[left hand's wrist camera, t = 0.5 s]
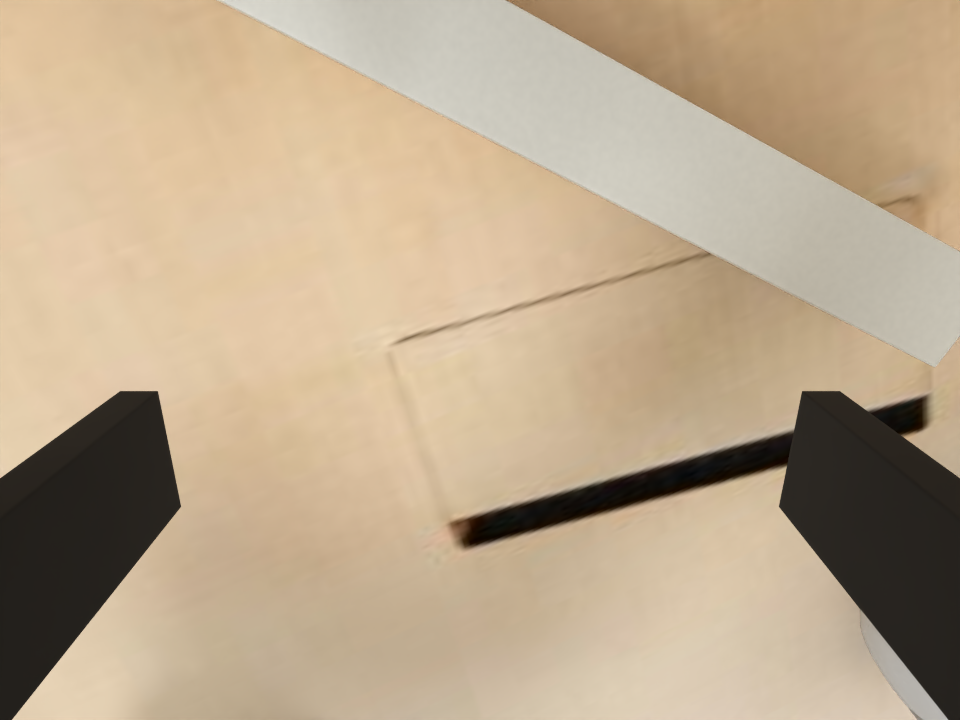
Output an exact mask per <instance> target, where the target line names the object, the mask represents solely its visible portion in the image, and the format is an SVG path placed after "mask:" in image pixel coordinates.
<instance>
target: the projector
mask: <svg viewBox="0 0 960 720" xmlns="http://www.w3.org/2000/svg"><path fill="white" fill-rule="evenodd" d="M860 626H861V631H862V634H863V637H864V640H865V642H866V645H867V647H868V649H869V651H870V653H871V655H872V657H873V659H874V661H875V662H876V664H877V666H878V667H879V669H880V671H881V672H882V674H883V675H884V677H885V678H886V680H887V681H888V683H889V684H890V685H891V687H892V688H893V689H894V691H895V692H896V693H897V695H898V696H899V697H900V699H901V700H902V701H903V702H904V703H905V704H906V705H907V706H908V708H909V709H910V711H911V712H912V714H913V715H914V716H915V717H916V718H917V720H948V719H947V718H946V716H945V715H944V714H943V713H942V711H941V710H940V709H939V708H938V706H937V705H936V704H935V703H934V701H933V700H932V699H931V697H930V696H929V695H928V694H927V692H926V691H925V690H924V689H923V687H922V686H921V685H920V684H919V682H918V681H917V680H916V679H915V677H914V676H913V675H912V674H911V672H910V671H909V670H908V669H907V667H906V666H905V665H904V663H903V662H902V661H901V660H900V658H899V657H898V656H897V655H896V653H895V652H894V651H893V650H892V648H891V647H890V646H889V645H888V643H887V642H886V641H885V640H884V638H883V637H882V636H881V634H880V633H879V632H878V631H877V629H876V628H875V627H874V626H873V624H872V623H871V622H870V621H869V619H868V618H867V617H866V616H865V614H864V613H863V612H862V611H861V609H860Z"/></svg>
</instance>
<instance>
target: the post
mask: <svg viewBox="0 0 960 720" xmlns="http://www.w3.org/2000/svg"><path fill="white" fill-rule="evenodd" d="M217 1H218V2H220V3H222V4H224V5H226V6H228V7H230V8H232V9H234V10H236V11H238V12H240V13H242V14H244V15H246V16H248V17H250V18H252V19H254V20H256V21H257V22H259V23H261V24H263V25H265V26H267V27H269V28H271V29H273V30H275V31H277V32H279V33H281V34H283V35H285V36H287V37H289V38H291V39H293V40H295V41H296V42H298V43H300V44H302V45H304V46H306V47H308V48H310V49H312V50H314V51H316V52H318V53H320V54H322V55H324V56H326V57H328V58H330V59H332V60H334V61H336V62H337V63H339V64H341V65H343V66H345V67H347V68H349V69H351V70H353V71H355V72H357V73H359V74H361V75H363V76H365V77H367V78H369V79H371V80H373V81H375V82H376V83H378V84H380V85H382V86H384V87H386V88H388V89H390V90H392V91H394V92H396V93H398V94H400V95H402V96H404V97H406V98H408V99H410V100H412V101H414V102H415V103H417V104H419V105H421V106H423V107H425V108H427V109H429V110H431V111H433V112H435V113H437V114H439V115H441V116H443V117H445V118H447V119H449V120H451V121H453V122H455V123H456V124H458V125H460V126H462V127H464V128H466V129H468V130H470V131H472V132H474V133H476V134H478V135H480V136H482V137H484V138H486V139H488V140H490V141H492V142H494V143H495V144H497V145H499V146H501V147H503V148H505V149H507V150H509V151H511V152H513V153H515V154H517V155H519V156H521V157H523V158H525V159H527V160H529V161H531V162H533V163H534V164H536V165H538V166H540V167H542V168H544V169H546V170H548V171H550V172H552V173H554V174H556V175H558V176H560V177H562V178H564V179H566V180H568V181H570V182H572V183H573V184H575V185H577V186H579V187H581V188H583V189H585V190H587V191H589V192H591V193H593V194H595V195H597V196H599V197H601V198H603V199H605V200H607V201H609V202H611V203H613V204H614V205H616V206H618V207H620V208H622V209H624V210H626V211H628V212H630V213H632V214H634V215H636V216H638V217H640V218H642V219H644V220H646V221H648V222H650V223H652V224H653V225H655V226H657V227H659V228H661V229H663V230H665V231H667V232H669V233H671V234H673V235H675V236H677V237H679V238H681V239H683V240H685V241H687V242H689V243H691V244H692V245H694V246H696V247H698V248H700V249H702V250H704V251H706V252H708V253H710V254H712V255H714V256H716V257H718V258H720V259H722V260H724V261H726V262H728V263H730V264H732V265H733V266H735V267H737V268H739V269H741V270H743V271H745V272H747V273H749V274H751V275H753V276H755V277H757V278H759V279H761V280H763V281H765V282H767V283H769V284H771V285H772V286H774V287H776V288H778V289H780V290H782V291H784V292H786V293H788V294H790V295H792V296H794V297H796V298H798V299H800V300H802V301H804V302H806V303H808V304H810V305H811V306H813V307H815V308H817V309H819V310H821V311H823V312H825V313H827V314H829V315H831V316H833V317H835V318H837V319H839V320H841V321H843V322H845V323H847V324H849V325H851V326H853V327H855V328H857V329H859V330H861V331H863V332H865V333H867V334H869V335H871V336H873V337H875V338H877V339H879V340H881V341H883V342H885V343H887V344H889V345H891V346H893V347H895V348H897V349H899V350H901V351H903V352H905V353H907V354H909V355H911V356H913V357H915V358H917V359H919V360H921V361H923V362H925V363H927V364H929V365H931V366H933V367H936V366H937V365H938V363H939V362H940V361H941V359H942V358H943V357H944V356H945V354H946V353H947V352H948V351H949V349H950V348H951V347H952V345H953V344H954V343H955V342H956V340H957V339H958V338H959V336H960V251H958V250H956V249H955V248H953V247H951V246H949V245H947V244H946V243H944V242H942V241H940V240H938V239H937V238H935V237H933V236H931V235H929V234H928V233H926V232H924V231H922V230H920V229H918V228H917V227H915V226H913V225H911V224H909V223H908V222H906V221H904V220H902V219H900V218H899V217H897V216H895V215H893V214H891V213H890V212H888V211H886V210H884V209H882V208H881V207H879V206H877V205H875V204H873V203H872V202H870V201H868V200H866V199H864V198H863V197H861V196H859V195H857V194H855V193H853V192H852V191H850V190H848V189H846V188H844V187H843V186H841V185H839V184H837V183H835V182H834V181H832V180H830V179H828V178H826V177H825V176H823V175H821V174H819V173H817V172H816V171H814V170H812V169H810V168H808V167H807V166H805V165H803V164H801V163H799V162H798V161H796V160H794V159H792V158H790V157H789V156H787V155H785V154H783V153H781V152H779V151H778V150H776V149H774V148H772V147H770V146H769V145H767V144H765V143H763V142H761V141H760V140H758V139H756V138H754V137H752V136H751V135H749V134H747V133H745V132H743V131H742V130H740V129H738V128H736V127H734V126H733V125H731V124H729V123H727V122H725V121H724V120H722V119H720V118H718V117H716V116H714V115H713V114H711V113H709V112H707V111H705V110H704V109H702V108H700V107H698V106H696V105H695V104H693V103H691V102H689V101H687V100H686V99H684V98H682V97H680V96H678V95H677V94H675V93H673V92H671V91H669V90H668V89H666V88H664V87H662V86H660V85H659V84H657V83H655V82H653V81H651V80H649V79H648V78H646V77H644V76H642V75H640V74H639V73H637V72H635V71H633V70H631V69H630V68H628V67H626V66H624V65H622V64H621V63H619V62H617V61H615V60H613V59H612V58H610V57H608V56H606V55H604V54H603V53H601V52H599V51H597V50H595V49H594V48H592V47H590V46H588V45H586V44H585V43H583V42H581V41H579V40H577V39H575V38H574V37H572V36H570V35H568V34H566V33H565V32H563V31H561V30H559V29H557V28H556V27H554V26H552V25H550V24H548V23H547V22H545V21H543V20H541V19H539V18H538V17H536V16H534V15H532V14H530V13H529V12H527V11H525V10H523V9H521V8H520V7H518V6H516V5H514V4H512V3H510V2H509V1H507V0H217Z"/></svg>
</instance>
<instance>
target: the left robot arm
mask: <svg viewBox="0 0 960 720" xmlns="http://www.w3.org/2000/svg"><path fill="white" fill-rule="evenodd" d="M180 507H181V504H180V499H179V494H178V489H177V484H176V479H175V474H174V469H173V465H172V460H171V455H170V450H169V445H168V440H167V435H166V430H165V425H164V420H163V415H162V410H161V405H160V400H159V395H158V391H120V392H119V393H117V394H116V395H114V396H113V397H112V398H110V399H109V400H108V401H106V402H105V403H103V404H102V405H101V406H99V407H98V408H96V409H95V410H94V411H92V412H91V413H90V414H88V415H87V416H85V417H84V418H83V419H81V420H80V421H79V422H77V423H76V424H74V425H73V426H72V427H70V428H69V429H68V430H66V431H65V432H63V433H62V434H61V435H59V436H58V437H57V438H55V439H54V440H52V441H51V442H50V443H48V444H47V445H46V446H44V447H43V448H41V449H40V450H39V451H37V452H36V453H35V454H33V455H32V456H30V457H29V458H28V459H26V460H25V461H24V462H22V463H21V464H19V465H18V466H17V467H15V468H14V469H12V470H11V471H10V472H8V473H7V474H6V475H4V476H3V477H1V478H0V720H12V719H13V718H14V716H15V715H16V714H17V713H18V711H19V710H20V709H21V708H22V706H23V705H24V704H25V703H26V701H27V700H28V699H29V697H30V696H31V695H32V694H33V692H34V691H35V690H36V689H37V687H38V686H39V685H40V684H41V682H42V681H43V680H44V679H45V677H46V676H47V675H48V674H49V672H50V671H51V670H52V669H53V667H54V666H55V665H56V663H57V662H58V661H59V660H60V658H61V657H62V656H63V655H64V653H65V652H66V651H67V650H68V648H69V647H70V646H71V645H72V643H73V642H74V641H75V640H76V638H77V637H78V636H79V634H80V633H81V632H82V631H83V629H84V628H85V627H86V626H87V624H88V623H89V622H90V621H91V619H92V618H93V617H94V616H95V614H96V613H97V612H98V611H99V609H100V608H101V607H102V606H103V604H104V603H105V602H106V600H107V599H108V598H109V597H110V595H111V594H112V593H113V592H114V590H115V589H116V588H117V587H118V585H119V584H120V583H121V582H122V580H123V579H124V578H125V577H126V575H127V574H128V573H129V572H130V570H131V569H132V568H133V566H134V565H135V564H136V563H137V561H138V560H139V559H140V558H141V556H142V555H143V554H144V553H145V551H146V550H147V549H148V548H149V546H150V545H151V544H152V543H153V541H154V540H155V539H156V537H157V536H158V535H159V534H160V532H161V531H162V530H163V529H164V527H165V526H166V525H167V524H168V522H169V521H170V520H171V519H172V517H173V516H174V515H175V514H176V512H177V511H178V510H179V509H180ZM779 507H780V509H781V510H782V511H783V512H784V514H785V515H786V516H787V517H788V519H789V520H790V521H791V522H792V524H793V525H794V526H795V527H796V529H797V530H798V531H799V532H800V534H801V535H802V536H803V537H804V539H805V540H806V541H807V543H808V544H809V545H810V546H811V548H812V549H813V550H814V551H815V553H816V554H817V555H818V556H819V558H820V559H821V560H822V561H823V563H824V564H825V565H826V566H827V568H828V569H829V570H830V572H831V573H832V574H833V575H834V577H835V578H836V579H837V580H838V582H839V583H840V584H841V585H842V587H843V588H844V589H845V590H846V592H847V593H848V594H849V595H850V597H851V598H852V599H853V600H854V602H855V603H856V604H857V606H858V607H859V608H860V609H861V611H862V612H863V613H864V614H865V616H866V617H867V618H868V619H869V621H870V622H871V623H872V624H873V626H874V627H875V628H876V629H877V631H878V632H879V633H880V634H881V636H882V637H883V638H884V640H885V641H886V642H887V643H888V645H889V646H890V647H891V648H892V650H893V651H894V652H895V653H896V655H897V656H898V657H899V658H900V660H901V661H902V662H903V663H904V665H905V666H906V667H907V669H908V670H909V671H910V672H911V674H912V675H913V676H914V677H915V679H916V680H917V681H918V682H919V684H920V685H921V686H922V687H923V689H924V690H925V691H926V692H927V694H928V695H929V696H930V697H931V699H932V700H933V701H934V703H935V704H936V705H937V706H938V708H939V709H940V710H941V711H942V713H943V714H944V715H945V716H946V718H947V719H948V720H960V478H959V477H957V476H956V475H954V474H953V473H952V472H950V471H949V470H948V469H946V468H945V467H943V466H942V465H941V464H939V463H938V462H936V461H935V460H934V459H932V458H931V457H930V456H928V455H927V454H925V453H924V452H923V451H921V450H920V449H919V448H917V447H916V446H914V445H913V444H912V443H910V442H909V441H908V440H906V439H905V438H903V437H902V436H901V435H899V434H898V433H897V432H895V431H894V430H892V429H891V428H890V427H888V426H887V425H886V424H884V423H883V422H881V421H880V420H879V419H877V418H876V417H875V416H873V415H872V414H870V413H869V412H868V411H866V410H865V409H864V408H862V407H861V406H859V405H858V404H857V403H855V402H854V401H852V400H851V399H850V398H848V397H847V396H846V395H844V394H843V393H841V392H840V391H802V395H801V400H800V405H799V410H798V415H797V420H796V425H795V430H794V435H793V440H792V445H791V450H790V455H789V460H788V465H787V469H786V474H785V479H784V484H783V489H782V494H781V499H780V504H779Z"/></svg>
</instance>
